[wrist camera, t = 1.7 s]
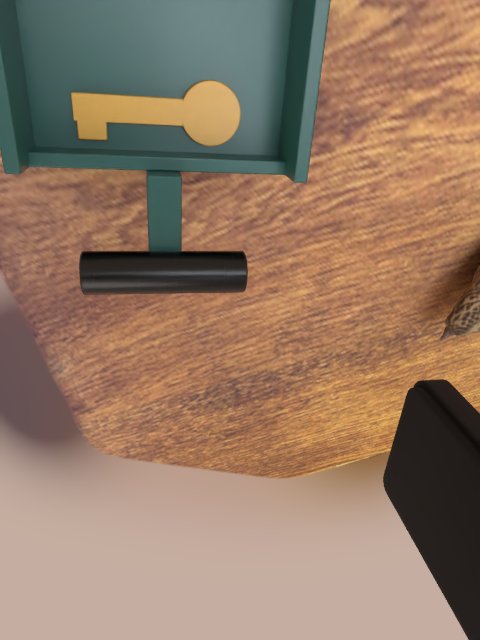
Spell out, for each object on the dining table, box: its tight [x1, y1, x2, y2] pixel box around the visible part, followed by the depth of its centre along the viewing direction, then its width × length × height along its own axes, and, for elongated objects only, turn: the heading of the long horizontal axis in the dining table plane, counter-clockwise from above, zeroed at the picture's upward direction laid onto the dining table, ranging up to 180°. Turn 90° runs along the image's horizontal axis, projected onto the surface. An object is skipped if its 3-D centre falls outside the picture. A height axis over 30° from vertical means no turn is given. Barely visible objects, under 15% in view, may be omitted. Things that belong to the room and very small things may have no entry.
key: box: [71, 80, 241, 146], centre depth 16 cm, size 6×2×1 cm, turn 87°
